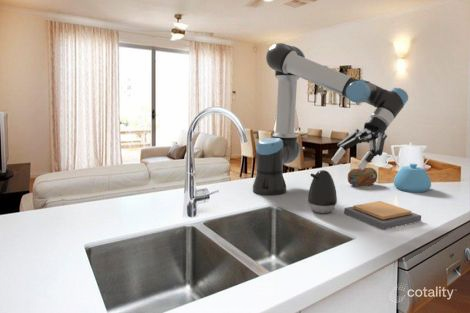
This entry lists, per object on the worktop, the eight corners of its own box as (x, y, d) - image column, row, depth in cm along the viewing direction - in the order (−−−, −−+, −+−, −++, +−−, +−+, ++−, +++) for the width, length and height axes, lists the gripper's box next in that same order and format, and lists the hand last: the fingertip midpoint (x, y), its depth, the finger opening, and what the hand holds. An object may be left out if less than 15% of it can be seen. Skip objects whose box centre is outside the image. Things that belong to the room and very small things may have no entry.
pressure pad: (353, 208, 114) (353, 205, 114) (380, 203, 119) (380, 200, 119) (382, 219, 103) (383, 216, 103) (411, 213, 108) (411, 211, 108)
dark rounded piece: (301, 209, 121) (302, 169, 119) (323, 205, 125) (324, 166, 123) (319, 217, 112) (320, 174, 109) (342, 213, 116) (344, 171, 114)
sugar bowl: (397, 183, 159) (399, 160, 157) (433, 188, 149) (435, 163, 147) (389, 189, 147) (391, 164, 145) (427, 195, 138) (429, 168, 136)
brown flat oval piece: (350, 187, 152) (350, 169, 151) (346, 185, 155) (346, 168, 154) (377, 184, 156) (378, 167, 155) (372, 183, 159) (373, 166, 158)
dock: (344, 213, 116) (344, 207, 115) (379, 206, 122) (379, 201, 122) (382, 229, 100) (383, 223, 100) (420, 221, 107) (421, 215, 107)
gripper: (412, 131, 114) (378, 177, 110) (358, 127, 136) (329, 165, 133) (402, 116, 111) (367, 163, 107) (349, 115, 133) (318, 153, 130)
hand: (346, 164), depth 120 cm, fingers open, 13 cm apart
